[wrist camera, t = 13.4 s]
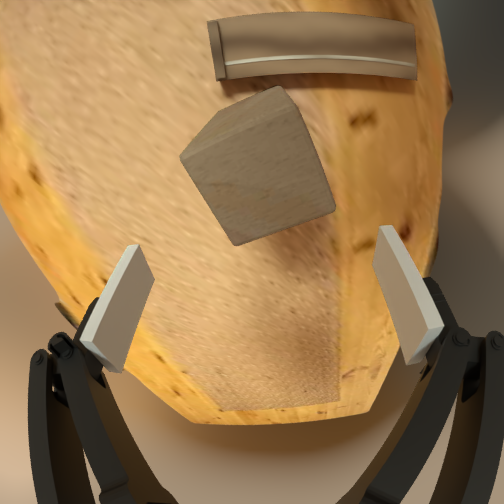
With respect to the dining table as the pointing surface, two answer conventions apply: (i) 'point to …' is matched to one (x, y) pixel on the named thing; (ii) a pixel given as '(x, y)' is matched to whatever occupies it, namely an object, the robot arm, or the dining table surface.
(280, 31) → the curved panel
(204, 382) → the dining table surface
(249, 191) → the wooden block
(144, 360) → the dining table surface
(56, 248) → the dining table surface
